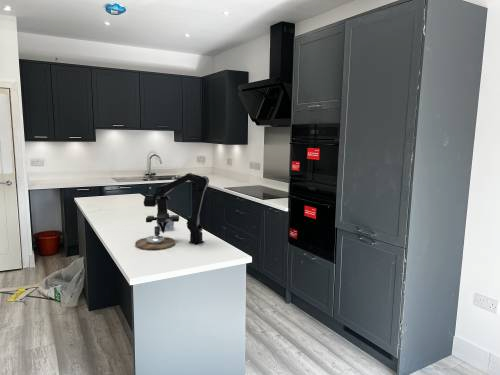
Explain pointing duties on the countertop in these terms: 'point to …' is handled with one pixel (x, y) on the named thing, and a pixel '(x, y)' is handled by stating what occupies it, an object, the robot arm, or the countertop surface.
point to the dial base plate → (146, 246)
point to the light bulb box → (168, 224)
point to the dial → (155, 237)
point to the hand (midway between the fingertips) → (163, 232)
